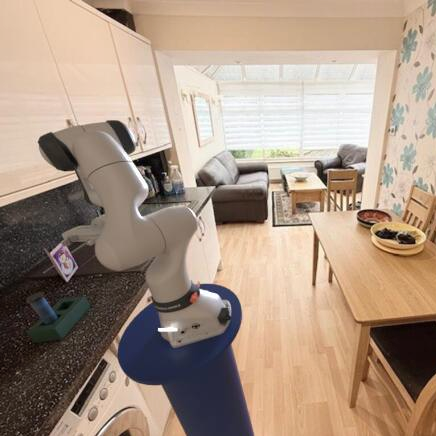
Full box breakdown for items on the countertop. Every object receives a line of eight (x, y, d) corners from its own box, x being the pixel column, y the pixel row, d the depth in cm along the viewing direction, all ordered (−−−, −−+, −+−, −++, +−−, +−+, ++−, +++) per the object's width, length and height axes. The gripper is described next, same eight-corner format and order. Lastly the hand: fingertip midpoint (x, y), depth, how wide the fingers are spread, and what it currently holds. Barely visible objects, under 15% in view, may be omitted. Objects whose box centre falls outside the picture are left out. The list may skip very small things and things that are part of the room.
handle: (68, 324, 81) (46, 291, 75) (60, 334, 78) (35, 300, 71) (56, 326, 81) (33, 292, 74) (47, 336, 77) (22, 301, 71)
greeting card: (69, 281, 103) (52, 252, 96) (48, 286, 100) (29, 257, 94) (80, 267, 112) (65, 239, 106) (61, 271, 110) (44, 243, 104)
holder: (90, 305, 89) (84, 295, 87) (62, 339, 76) (54, 328, 74) (67, 308, 88) (61, 298, 86) (35, 343, 75) (26, 332, 73)
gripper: (77, 220, 98) (44, 237, 85) (124, 218, 96) (97, 235, 84) (84, 234, 100) (53, 252, 88) (130, 232, 99) (105, 251, 86)
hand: (75, 244), depth 86 cm, fingers open, 8 cm apart
